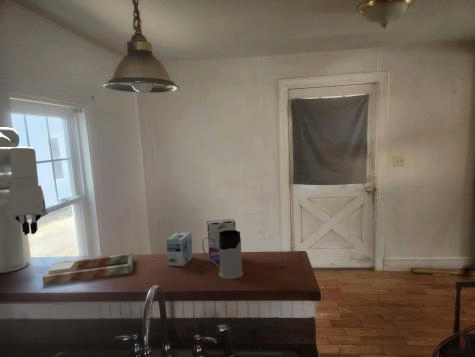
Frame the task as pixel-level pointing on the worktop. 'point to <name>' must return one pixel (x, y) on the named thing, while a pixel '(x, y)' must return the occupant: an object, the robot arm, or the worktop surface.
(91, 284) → the worktop surface
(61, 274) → the trap lane
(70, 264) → the cream block
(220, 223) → the candy bar box
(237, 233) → the white pitcher
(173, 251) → the light bulb box
